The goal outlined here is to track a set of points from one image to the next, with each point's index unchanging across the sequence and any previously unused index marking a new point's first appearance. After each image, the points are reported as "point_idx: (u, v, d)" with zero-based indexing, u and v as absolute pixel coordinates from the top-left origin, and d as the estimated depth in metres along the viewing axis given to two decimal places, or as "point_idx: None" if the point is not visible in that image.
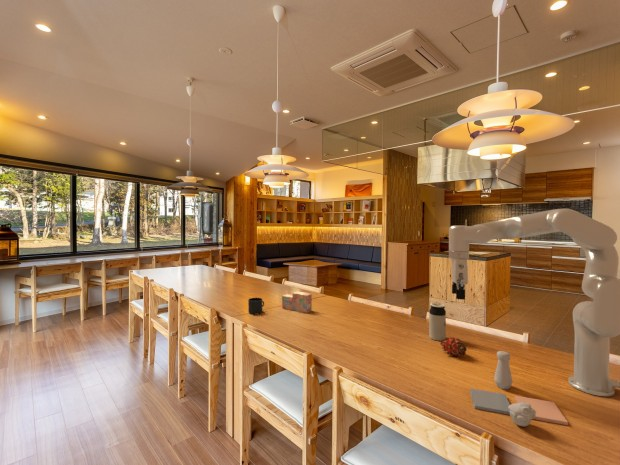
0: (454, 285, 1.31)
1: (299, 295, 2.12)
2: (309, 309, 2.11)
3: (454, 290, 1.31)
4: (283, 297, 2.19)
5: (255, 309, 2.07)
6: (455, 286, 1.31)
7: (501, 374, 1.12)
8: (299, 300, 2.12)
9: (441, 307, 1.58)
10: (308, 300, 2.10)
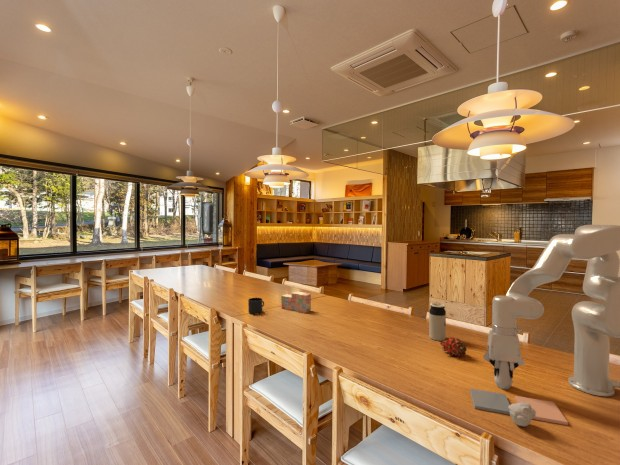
0: None
1: (298, 295, 2.12)
2: (308, 309, 2.11)
3: None
4: (282, 297, 2.19)
5: (255, 309, 2.07)
6: None
7: (501, 374, 1.12)
8: (298, 300, 2.12)
9: (441, 307, 1.58)
10: (307, 300, 2.10)
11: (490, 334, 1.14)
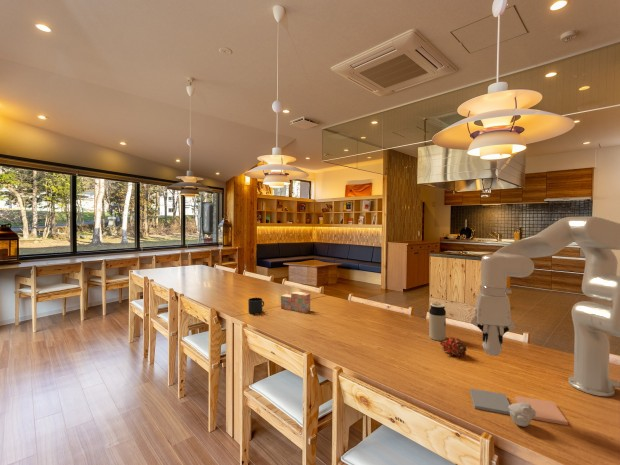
0: (487, 334, 1.05)
1: (298, 295, 2.12)
2: (308, 309, 2.12)
3: None
4: (282, 297, 2.19)
5: (255, 309, 2.07)
6: (487, 335, 1.05)
7: (489, 339, 1.03)
8: (297, 300, 2.12)
9: (441, 307, 1.58)
10: (307, 300, 2.10)
11: (478, 296, 1.05)
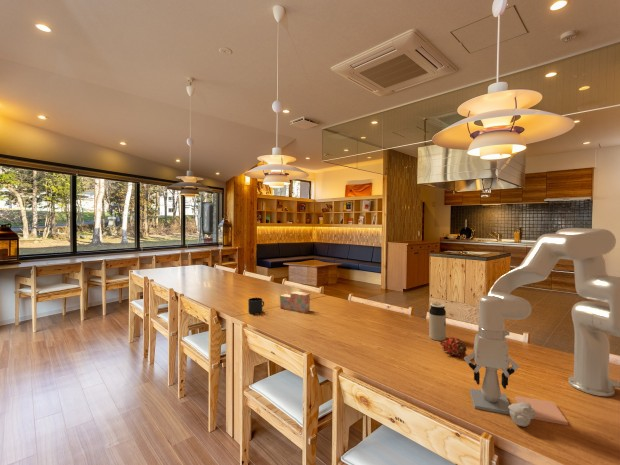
0: None
1: (297, 295, 2.12)
2: (307, 309, 2.12)
3: None
4: (281, 297, 2.19)
5: (255, 309, 2.06)
6: None
7: (488, 385, 1.03)
8: (297, 299, 2.12)
9: (441, 307, 1.58)
10: (306, 300, 2.11)
11: (476, 338, 1.04)
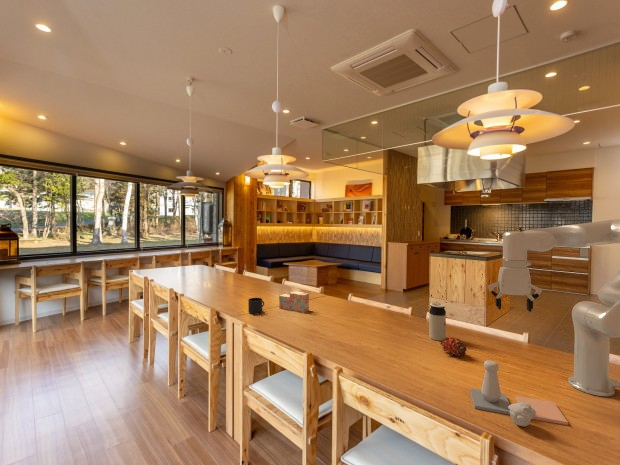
0: (500, 299, 1.16)
1: (296, 295, 2.13)
2: (306, 309, 2.12)
3: None
4: (280, 297, 2.20)
5: (255, 309, 2.06)
6: None
7: (488, 386, 1.02)
8: (296, 299, 2.13)
9: (441, 307, 1.58)
10: (305, 300, 2.11)
11: (501, 269, 1.16)
